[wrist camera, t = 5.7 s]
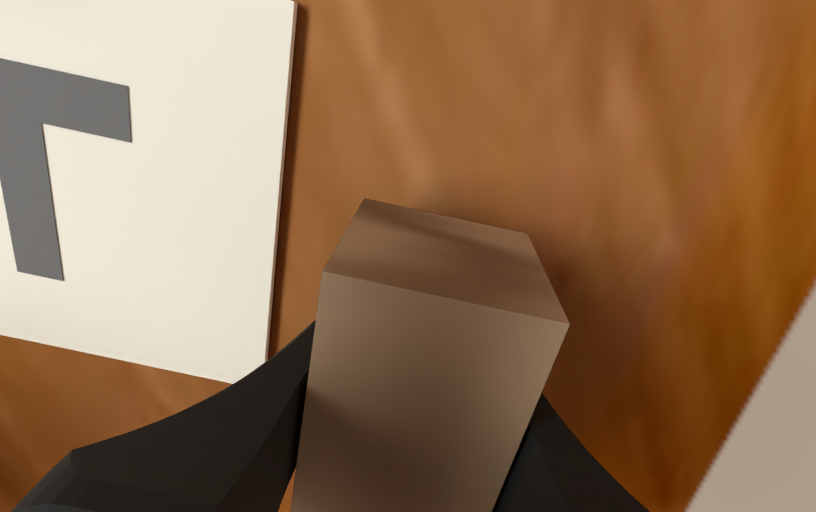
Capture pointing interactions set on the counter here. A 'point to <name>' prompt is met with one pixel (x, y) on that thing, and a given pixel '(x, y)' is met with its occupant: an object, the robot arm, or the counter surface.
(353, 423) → the walnut bar
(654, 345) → the counter surface
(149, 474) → the robot arm
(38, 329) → the letter mat
